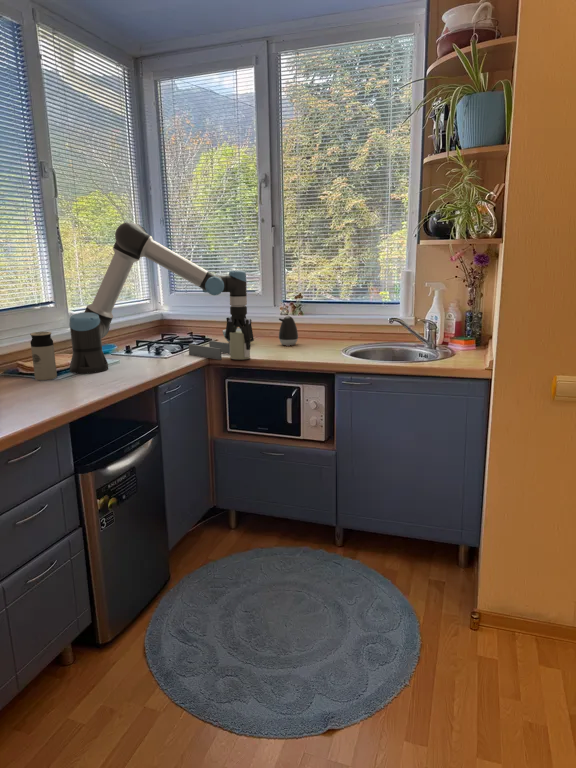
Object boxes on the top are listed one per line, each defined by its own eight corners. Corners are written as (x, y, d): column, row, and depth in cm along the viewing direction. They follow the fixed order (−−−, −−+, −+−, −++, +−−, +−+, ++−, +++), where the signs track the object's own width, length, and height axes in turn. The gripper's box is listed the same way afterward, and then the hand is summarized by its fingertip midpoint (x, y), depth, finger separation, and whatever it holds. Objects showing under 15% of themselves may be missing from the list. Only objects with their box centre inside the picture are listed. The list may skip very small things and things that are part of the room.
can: (241, 360, 240) (240, 333, 237) (225, 358, 245) (225, 331, 242) (254, 357, 247) (254, 331, 244) (239, 355, 252) (238, 329, 250)
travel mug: (50, 375, 217) (45, 330, 212) (61, 378, 212) (55, 332, 207) (31, 378, 211) (25, 333, 206) (41, 381, 206) (35, 335, 202)
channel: (220, 359, 245) (219, 349, 243) (189, 354, 259) (188, 344, 257) (242, 355, 255) (241, 345, 254) (211, 350, 269) (210, 340, 268)
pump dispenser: (275, 344, 285) (274, 315, 281) (293, 342, 289) (292, 314, 286) (283, 347, 276) (282, 317, 272) (301, 345, 280) (301, 316, 277)
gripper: (261, 306, 236) (262, 357, 241) (228, 303, 250) (229, 351, 255) (249, 307, 231) (250, 359, 236) (215, 305, 244) (217, 353, 250)
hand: (239, 355), depth 245 cm, fingers closed on can, 9 cm apart
